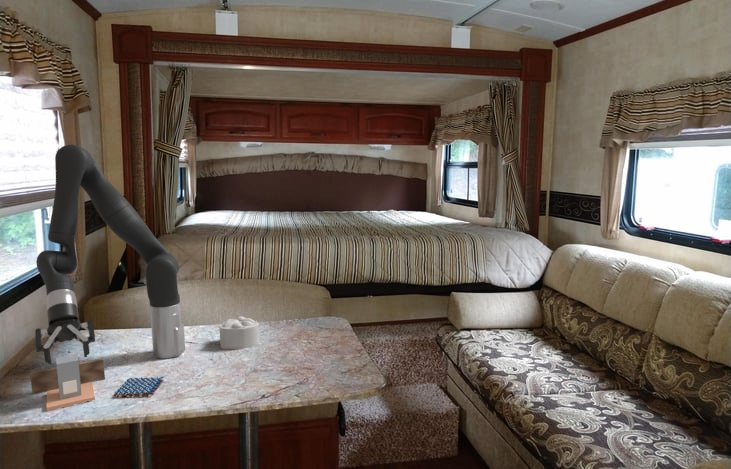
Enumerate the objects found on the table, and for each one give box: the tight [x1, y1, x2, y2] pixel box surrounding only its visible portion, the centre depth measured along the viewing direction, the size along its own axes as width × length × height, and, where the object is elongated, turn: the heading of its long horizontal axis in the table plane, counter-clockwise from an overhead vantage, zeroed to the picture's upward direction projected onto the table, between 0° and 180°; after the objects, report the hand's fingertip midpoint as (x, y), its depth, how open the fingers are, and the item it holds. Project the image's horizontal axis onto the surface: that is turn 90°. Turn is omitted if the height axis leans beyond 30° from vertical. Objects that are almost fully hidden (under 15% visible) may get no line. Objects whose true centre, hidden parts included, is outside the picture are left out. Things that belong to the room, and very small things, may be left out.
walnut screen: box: [29, 358, 106, 395], centre depth 144 cm, size 18×1×6 cm, turn 122°
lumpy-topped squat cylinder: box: [219, 315, 261, 350], centre depth 176 cm, size 10×13×9 cm
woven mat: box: [113, 376, 165, 399], centre depth 142 cm, size 10×11×2 cm
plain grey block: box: [55, 353, 82, 400], centre depth 137 cm, size 5×5×10 cm
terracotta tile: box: [46, 382, 96, 412], centre depth 137 cm, size 11×11×1 cm
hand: (68, 359), depth 138 cm, fingers open, 8 cm apart
